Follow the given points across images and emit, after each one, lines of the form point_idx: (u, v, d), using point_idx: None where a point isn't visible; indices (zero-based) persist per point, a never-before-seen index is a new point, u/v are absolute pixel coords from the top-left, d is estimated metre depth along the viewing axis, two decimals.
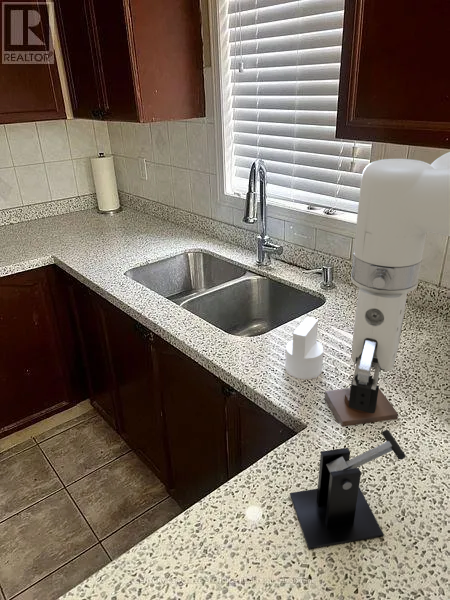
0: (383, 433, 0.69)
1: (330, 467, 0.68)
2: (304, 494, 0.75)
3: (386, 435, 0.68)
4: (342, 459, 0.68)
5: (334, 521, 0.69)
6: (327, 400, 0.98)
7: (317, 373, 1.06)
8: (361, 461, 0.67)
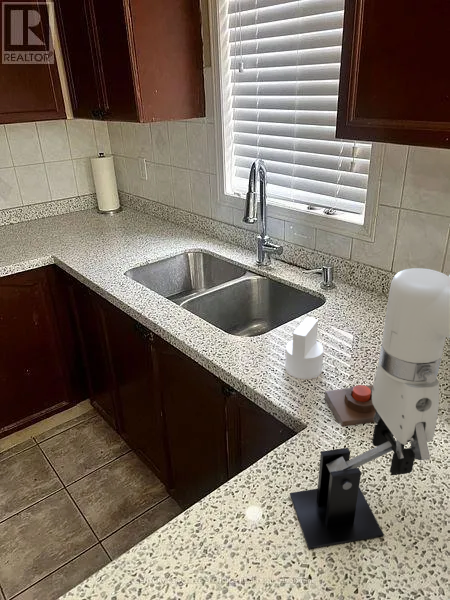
0: (383, 433, 0.69)
1: (330, 467, 0.68)
2: (304, 494, 0.75)
3: (386, 435, 0.68)
4: (342, 459, 0.68)
5: (334, 521, 0.69)
6: (327, 400, 0.98)
7: (317, 373, 1.06)
8: (361, 461, 0.67)
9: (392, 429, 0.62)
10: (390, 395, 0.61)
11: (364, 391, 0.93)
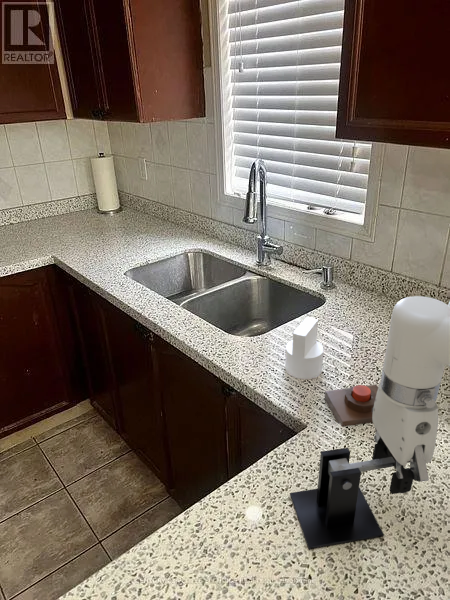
0: (386, 449, 0.71)
1: (333, 464, 0.67)
2: (304, 494, 0.75)
3: None
4: (346, 460, 0.68)
5: (334, 521, 0.69)
6: (327, 400, 0.98)
7: (317, 373, 1.06)
8: (363, 468, 0.68)
9: (392, 450, 0.64)
10: (390, 417, 0.63)
11: (364, 391, 0.93)
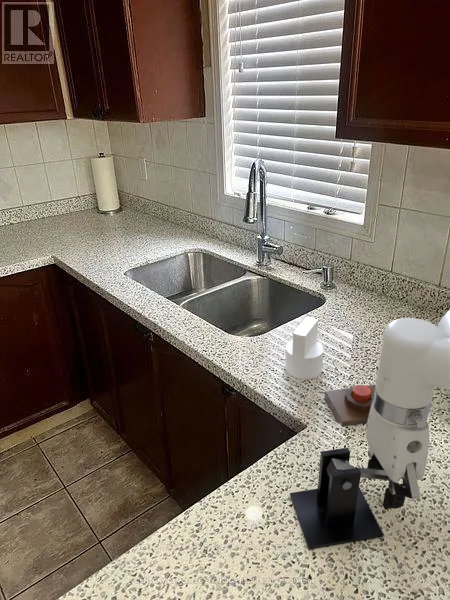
0: None
1: (336, 462, 0.67)
2: (304, 494, 0.75)
3: None
4: (347, 462, 0.68)
5: (334, 521, 0.69)
6: (327, 400, 0.98)
7: (317, 373, 1.06)
8: (361, 473, 0.68)
9: (385, 467, 0.66)
10: (383, 435, 0.65)
11: (364, 391, 0.93)
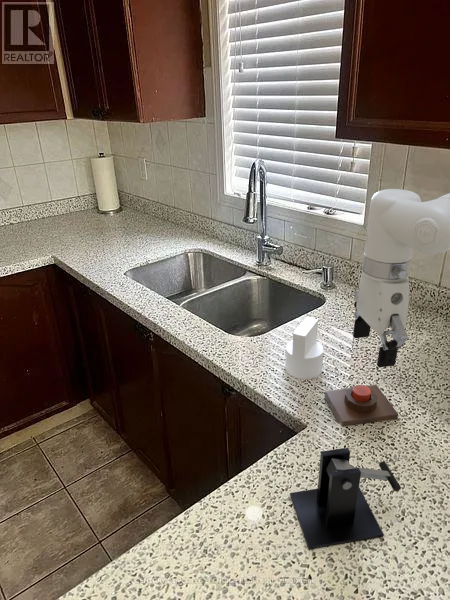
0: (382, 463, 0.72)
1: (336, 462, 0.67)
2: (304, 494, 0.75)
3: (386, 465, 0.71)
4: (347, 462, 0.68)
5: (334, 521, 0.69)
6: (327, 400, 0.98)
7: (317, 373, 1.06)
8: (361, 474, 0.68)
9: (372, 325, 0.77)
10: (371, 296, 0.76)
11: (364, 391, 0.93)
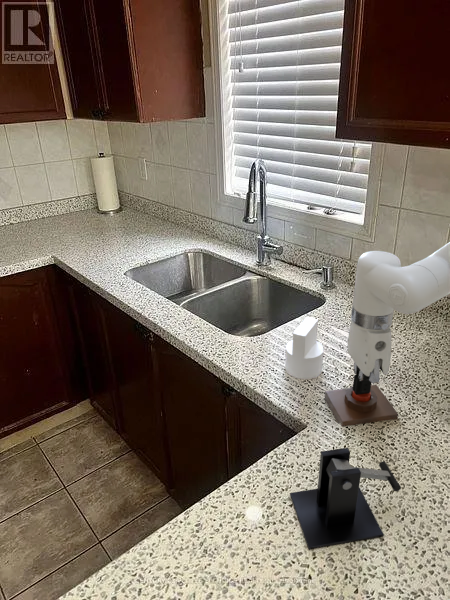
0: (382, 463, 0.72)
1: (336, 462, 0.67)
2: (304, 494, 0.75)
3: (386, 465, 0.71)
4: (347, 462, 0.68)
5: (334, 521, 0.69)
6: (327, 400, 0.98)
7: (317, 373, 1.06)
8: (361, 474, 0.68)
9: (360, 366, 0.88)
10: (358, 341, 0.87)
11: None
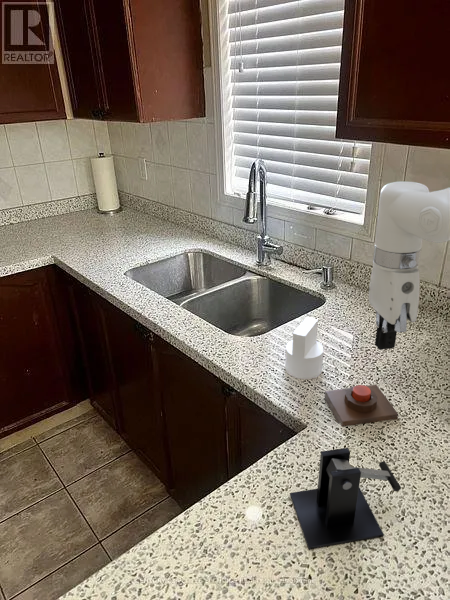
0: (382, 463, 0.72)
1: (336, 462, 0.67)
2: (304, 494, 0.75)
3: (386, 465, 0.71)
4: (347, 462, 0.68)
5: (334, 521, 0.69)
6: (327, 400, 0.98)
7: (317, 373, 1.06)
8: (361, 474, 0.68)
9: (384, 315, 0.79)
10: (382, 286, 0.78)
11: (364, 391, 0.93)
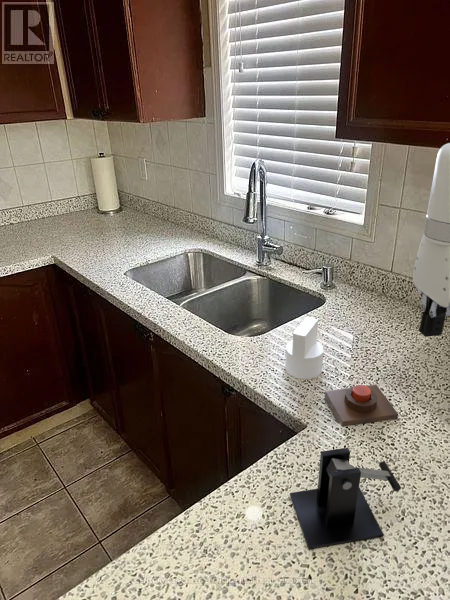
0: (382, 463, 0.72)
1: (336, 462, 0.67)
2: (304, 494, 0.75)
3: (386, 465, 0.71)
4: (347, 462, 0.68)
5: (334, 521, 0.69)
6: (327, 400, 0.98)
7: (317, 373, 1.06)
8: (361, 474, 0.68)
9: (435, 296, 0.69)
10: (434, 263, 0.68)
11: (364, 391, 0.93)
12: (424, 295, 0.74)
